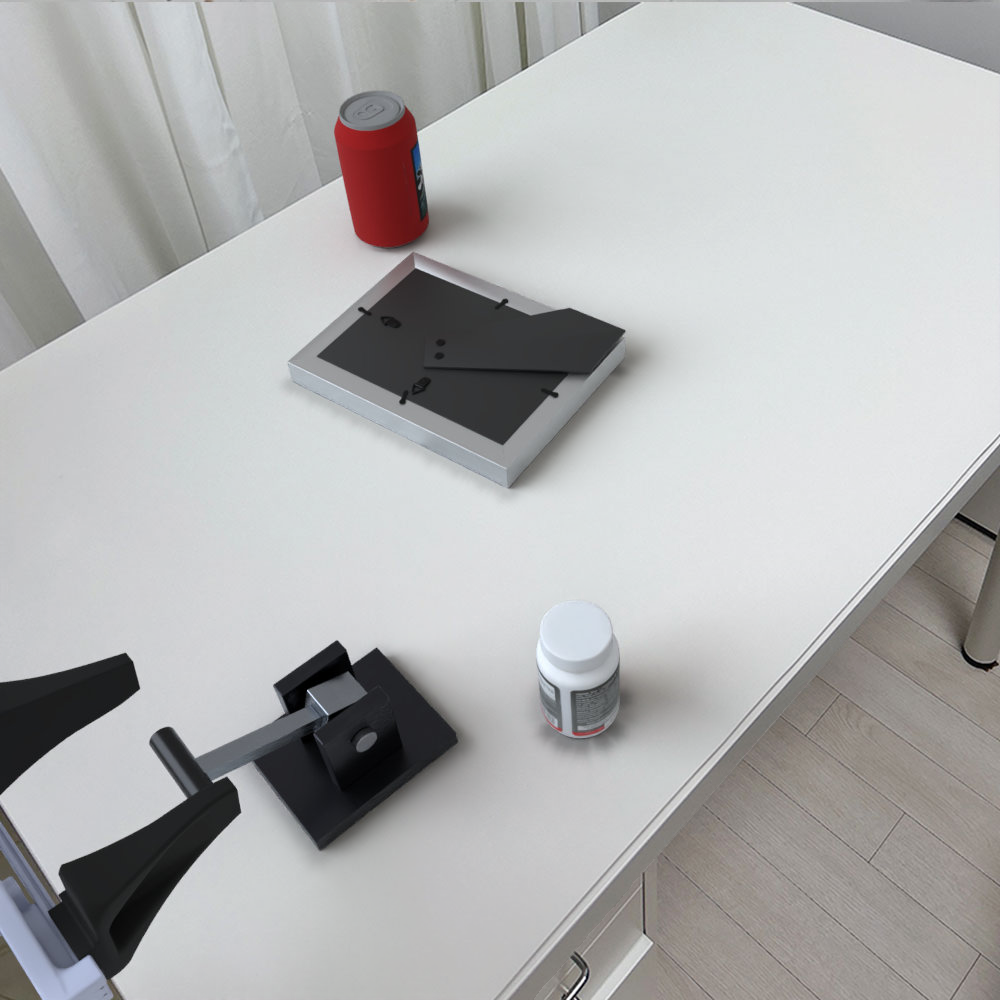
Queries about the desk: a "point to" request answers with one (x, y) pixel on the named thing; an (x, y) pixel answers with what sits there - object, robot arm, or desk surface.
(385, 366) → the picture frame
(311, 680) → the bracket
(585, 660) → the pill bottle
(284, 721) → the tap lever
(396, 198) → the beverage can
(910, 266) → the desk surface
